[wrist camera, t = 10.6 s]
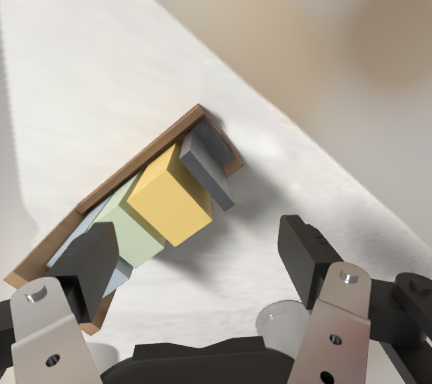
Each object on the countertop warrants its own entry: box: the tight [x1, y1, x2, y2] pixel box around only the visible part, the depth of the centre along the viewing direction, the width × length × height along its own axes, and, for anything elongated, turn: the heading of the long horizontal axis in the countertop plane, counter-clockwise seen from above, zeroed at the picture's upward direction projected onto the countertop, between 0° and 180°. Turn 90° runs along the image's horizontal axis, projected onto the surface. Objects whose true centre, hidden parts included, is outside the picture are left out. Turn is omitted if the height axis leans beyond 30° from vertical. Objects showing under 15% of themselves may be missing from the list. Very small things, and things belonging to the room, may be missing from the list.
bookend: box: [179, 118, 236, 211], centre depth 23 cm, size 6×3×10 cm, turn 38°
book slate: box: [46, 190, 133, 298], centre depth 26 cm, size 6×4×10 cm
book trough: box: [3, 104, 244, 336], centre depth 24 cm, size 8×19×13 cm, turn 128°
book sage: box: [88, 170, 166, 269], centre depth 25 cm, size 6×4×9 cm, turn 38°
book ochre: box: [127, 141, 213, 247], centre depth 24 cm, size 6×4×10 cm
